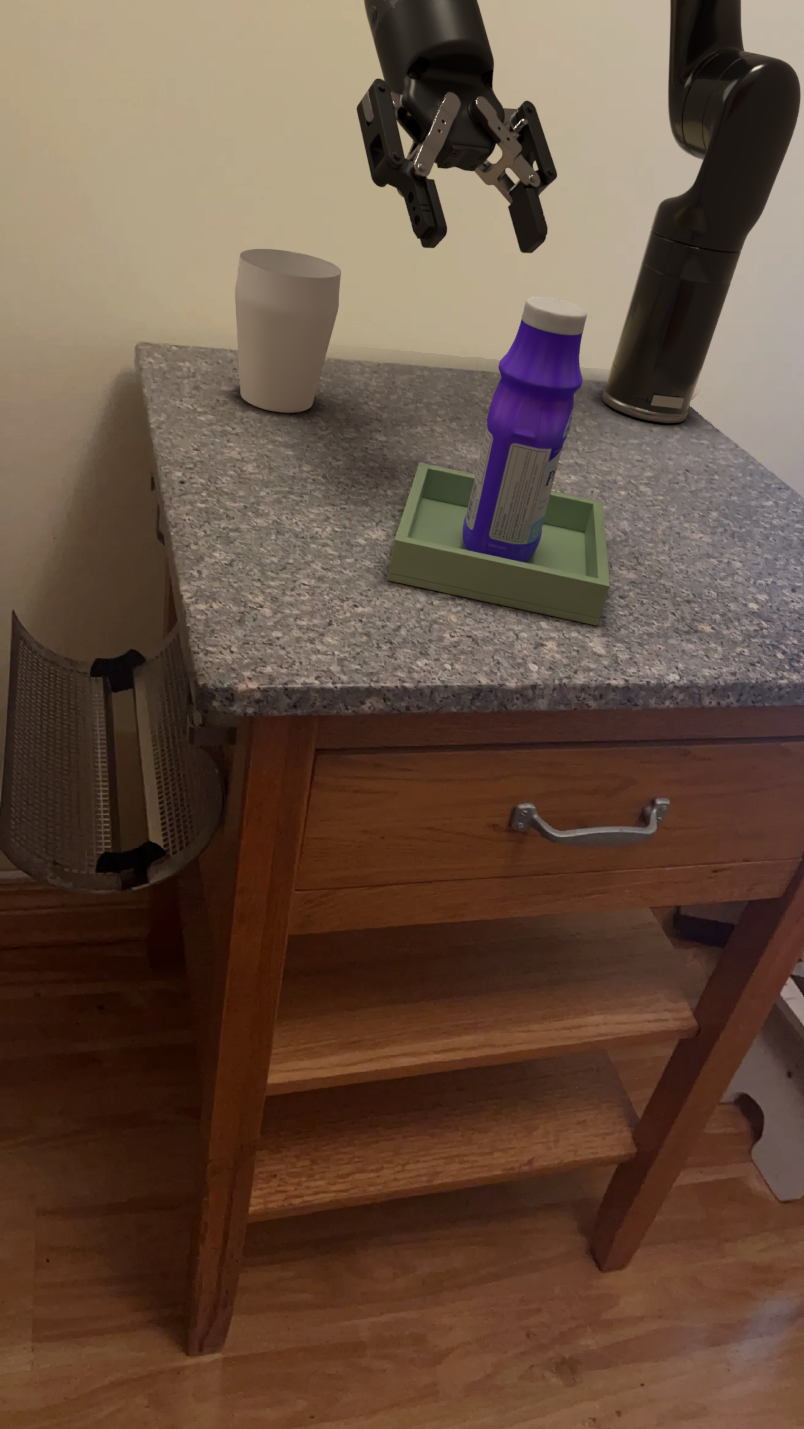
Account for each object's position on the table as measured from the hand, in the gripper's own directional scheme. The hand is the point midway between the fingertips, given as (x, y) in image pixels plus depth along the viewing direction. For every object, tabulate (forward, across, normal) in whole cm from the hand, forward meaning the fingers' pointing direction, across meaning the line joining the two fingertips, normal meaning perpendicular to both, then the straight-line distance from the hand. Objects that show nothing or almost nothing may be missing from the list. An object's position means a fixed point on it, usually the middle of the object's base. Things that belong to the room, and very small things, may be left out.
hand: (486, 244), depth 71 cm
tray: (+20, 0, +8) cm, 21 cm away
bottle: (+20, 0, +8) cm, 21 cm away
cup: (-2, -2, +30) cm, 30 cm away
